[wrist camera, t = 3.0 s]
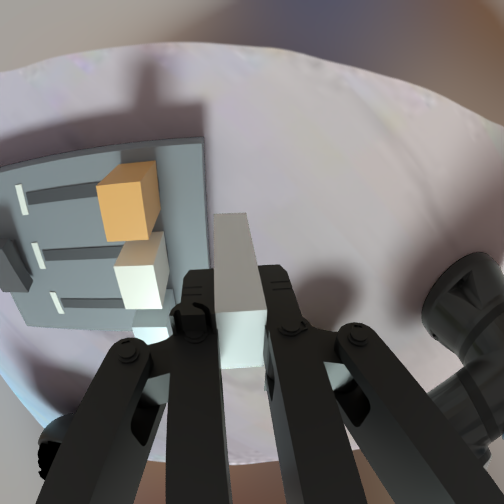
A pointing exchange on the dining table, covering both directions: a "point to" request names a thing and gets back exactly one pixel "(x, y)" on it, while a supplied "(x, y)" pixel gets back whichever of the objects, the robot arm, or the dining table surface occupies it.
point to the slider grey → (154, 321)
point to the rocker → (12, 269)
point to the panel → (97, 229)
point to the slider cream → (143, 272)
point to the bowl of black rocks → (52, 442)
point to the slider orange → (129, 201)
